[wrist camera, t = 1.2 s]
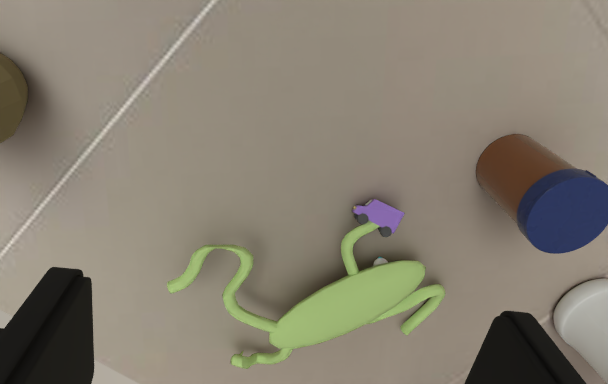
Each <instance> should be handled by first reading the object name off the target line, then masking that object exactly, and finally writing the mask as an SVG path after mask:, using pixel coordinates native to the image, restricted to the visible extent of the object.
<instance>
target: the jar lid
mask: <svg viewBox="0 0 608 384" xmlns="http://www.w3.org/2000/svg"><path fill="white" fill-rule="evenodd" d="M517 224H518V227H519V229H520V231H521V233H522V234H523V235H524V236H525V237H526V238H527V239H528V240H529V241H530V242H531V243H532V244H533V245H534V246H535V247H536V248H537V249H539V250H541V251H544V252H547V253H566V252H570V251H573V250H576V249H579V248H581V247H583V246H585V245H586V244H588V243H590V242H591V241H592V240H594V239H595V238H596V237H597V236H598V235H599V234H600V233H601V232H602V231H603V230H604V229H605V227H606V226H607V224H608V185H607V184H605V183H604V182H603V181H601V180H600V179H598V178H597V177H596V176H595V175H593V174H592V173H590V172H589V171H587V170H586V171H584V170H581V169H563V170H558V171H555V172H552V173H550V174H548V175H546V176H544V177H543V178H541V179H540V180H538V181H537V182H536V183H534V184H533V185H532V186H531V187H530V188H529V189H528V191H527V192H526V193H525V194H524V196H523V198H522V199H521V201H520V203H519V206H518V210H517Z"/></svg>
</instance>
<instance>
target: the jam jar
mask: <svg viewBox="0 0 608 384" xmlns="http://www.w3.org/2000/svg"><path fill="white" fill-rule="evenodd" d="M563 169H577V168H576V167H574V166H573V165H571V164H570V163H568V162H567V161H565V160H564V159H562V158H561V157H559V156H558V155H556V154H555V153H553V152H552V151H550V150H549V149H547V148H546V147H544V146H543V145H541V144H540V143H538V142H537V141H535V140H534V139H532V138H530V137H528V136H526V135H521V134H513V135H507V136H504V137H502V138H499V139H498V140H496V141H494V142H493V143H492V144H490V145H489V146H488V147H487V148H486V149H485V150H484V152H483V153H482V154H481V156H480V158H479V160H478V163H477V167H476V177H477V180H478V183H479V185H480V186H481V187H482V188H483V189H484V190H485V191H486V192H487V193H488V194H489V195H490V197H491V198H492V199H493V200H494V201H495V202H496V203H497V204H498V205H499V206H500V207H501V208H502V209H503V210H504V211H505V212H506V213H507V214H508V215H509V216H510V217H511V218H512V219H513V220H514V221H515V223H516V224H517V210H518V206H519V203H520V201H521V199H522V198H523V196H524V194H525V193H526V192H527V191H528V189H529V188H530V187H531V186H532V185H533V184H534V183H536V182H537V181H538V180H540V179H541V178H543V177H544V176H546V175H548V174H550V173H552V172H555V171H558V170H563ZM517 225H518V224H517Z"/></svg>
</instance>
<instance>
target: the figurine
mask: <svg viewBox="0 0 608 384" xmlns="http://www.w3.org/2000/svg"><path fill="white" fill-rule="evenodd" d="M352 212H354V213H355V214H354V217H355V219H356V220H357V221H358V222H359V223H360V224H362V225H360V226H358V227H356V228H354V229H353V230H351V231H350V232H348V233H347V234H346V236H345V237H344V239H343V240H342V242H341V254H342V258H343V262H344V264H345V267H346V270H347V273H348V276H346V277H344V278H342V279H340V280H337V281H335V282H333V283H331V284H329V285H327V286H325V287H323V288H321V289H320V290H318V291H317V292H315V293H313V294H312V295H310V296H309V297H307V298H305V299H304V300H302V301H301V302H299V303H298V304H296V305H295V306H294V307H293V308H292V309H291V310H289V311H288V312H287V313H286V314H285V315H283V316H282V317H281V318H280V319H279V320H278V322H277V321H273V320H270V319H267V318H264V317H261V316H258V315H256V314H253V313H251V312H249V311H247V310H245V309H243V308H242V307H241V306H239V305H238V303H237V301H236V298H235V292H236V291H237V289H238V288H239V287H240V286H241V284H242V283H243V282H244V280H245V279H246V278H247V276H248V275H249V273H250V271H251V269H252V266H253V255H252V254H251V253H250V252H249V251H248V250H247V249H246V248H244V247H240V246H236V245H205V246H203V247H201V248H200V249H198V250H196V251H195V252H194V254H193V255H192V257H191V261H190V264H189V266H188V268H187V269H186V271H185V272H184V273H183V275H182V276H180V277H178V278H176V279H174V280H171V281H169V282H168V283H167V287H168V291H169V292H170V293H175V292H177V291H180V290H182V289H184V288H186V287H188V286H189V285H190V284H191V283H192V282H193V281H194V280H195V278H196V277H197V275H198V274H199V272H200V270H201V267H202V264H203V262H204V260H205V258H206V256H207V255H208V253H209V252H210V251H212V250H214V249H215V248H221V249H226V250H229V251H233V252H234V253H236V254H237V255H238V256H239V257H240V262H241V265H240V267H239V269H238V271H237V273H236V275H235V276H234V277H233V279H232V280H231V281H230V282H229V284H228V285H227V286H226V288H225V290H224V292H223V295H222V296H223V300H224V304H225V306H226V308H227V310H228V312H229V314H231V315H232V316H233V317H235V318H236V319H237V320H239V321H241V322H243V323H245V324H248V325H250V326H253V327H255V328H258V329H261V330H264V331H267V332H270V333H269V343H270V344H272V345H274V346H276V347H277V348H281V349H280V350H279V351H277V352H275V353H271V354H270V353H256V354H252V355H251V356H250V357H245V356H242V354H243V351H242V352H241V354H234V355H233V356H232V358H231V364H232V365H234V366H237V367H240V368H245V369H248V368H249V367H250V366H251V365H254V364H256V363H257V364H276V363H278V362H281V361H283V360H285V359H287V358H288V357H289V355H290V353H291V352H292V350H293V349H294V348H301V347H305V346H310V345H314V344H319V343H322V342H325V341H327V340H330V339H333V338H336V337H339V336H341V335H344V334H347V333H349V332H351V331H353V330H355V329H357V328H359V327H361V326H363V325H365V324H371V323H374V322H377V321H379V320H382V319H384V318H387V317H389V316H393V315H396V314H399V313H402V312H404V311H406V310H408V309H410V308H412V307H413V306H415V305H417V304H418V303H420V302H422V301H423V300H425V299H427V298H430V299H429V300H428V301H427V302H426V303H425V304H424V305H423V306H422V307H421V308H420V309H419V310H418V311H417V312H416V313H415V314H414V315H412V316H411V317H410V318H409V319H408V320H407V321H406V322H405V323H404V324H403V325H402V326H401V330H402V332H403V333H404V334H405V335H407V336H408V334H409V333H410V332H411V331H412V330H413V329H414V328H415V327H416V326H418V325H419V324H420V323H421V322H422V321H423V320H424V319H425V318H426V317H427V316H428V315H429V314H430V313H432V312H433V311H434V310H435V309H436V308H437V306H438V305H439V304H440V302H441V301H442V299H443V298H444V296H445V290H444V288H443V286H441V285H440V284H434V285H429V286H426V287H423V288H421V289H419V290H418V291H416V292H414V290H415V289H416V288H417V286H418V285H419V284H420V283H421V281H422V280H423V279H424V276H425V269H426V267H425V266H424V265H422V264H421V263H420V262H419V261H409V260H399V261H394V262H389V263H388V261H387V260H385V259H384V258H382V257H378V259H376V260H375V261H374V264H373V267H370V268H367V269H363V270H361V271H359V269H358V267H357V265H356V262H355V260H354V256H353V245H354V244H355V242H356V241H357V240H358V239H359V238H360V237H362V236H363V235H365V234H367V233H369V232H371V231H373V230H375V229H377V228H378V230H379V231H380V234H381V235H382V236H383V237H389V236H390V235H391V233H393V234H394V232H395V230H396V228H397V226H398V224H399V223H400V221H401V219H402V217H403V215H404V214H405V213H403V212H401V211H399V210H397V209H395V208H393V207H391V206H389V205H387V204H385V203H382V202H380V201H378V200H376V199H372V200H370V201H369V202H368V203H366V204H365V206H359V205H356V206H354V207H353V210H352ZM368 220H369V221H368ZM412 292H414V293H412ZM411 293H412V294H411ZM410 294H411V295H410ZM407 296H408V297H407Z"/></svg>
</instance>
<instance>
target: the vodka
mask: <svg viewBox="0 0 608 384" xmlns="http://www.w3.org/2000/svg"><path fill="white" fill-rule="evenodd" d="M553 319H554V325H555V329H556V331H557V332H558V333H559V335H560V336H561V337H562V338H563V340H564V341H565V342H566V343H567V344H568V345H570V346H572V347H573V348H574V349H575V350H576V351H577V352H578V353H579V354H580V355H581V356H582V357H583V358H584V359H585V360H586V361H587V362H588V363H589V364H590V365H591V367H592V368H593V369H594V370H595V371H596V372H597V373H598V374H599V375H600V377H601V378H602V379H603V381H604V382H605V383H606V384H608V279H595V280H591V281H587V282H585V283H582V284H580V285H578V286H577V287H575V288H573V289H572V290H570V291H569V292H568V293H567V294H566V295H565V296H564V297H563V298H562V299H561V300H560V301H559V303H558V304H557V306H556V308H555V311H554V315H553Z"/></svg>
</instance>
